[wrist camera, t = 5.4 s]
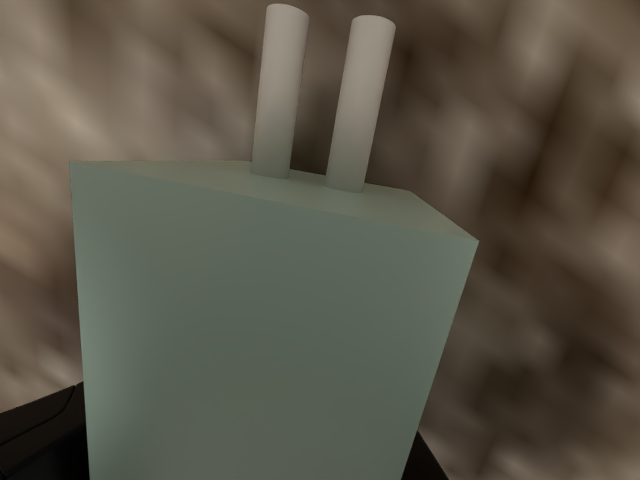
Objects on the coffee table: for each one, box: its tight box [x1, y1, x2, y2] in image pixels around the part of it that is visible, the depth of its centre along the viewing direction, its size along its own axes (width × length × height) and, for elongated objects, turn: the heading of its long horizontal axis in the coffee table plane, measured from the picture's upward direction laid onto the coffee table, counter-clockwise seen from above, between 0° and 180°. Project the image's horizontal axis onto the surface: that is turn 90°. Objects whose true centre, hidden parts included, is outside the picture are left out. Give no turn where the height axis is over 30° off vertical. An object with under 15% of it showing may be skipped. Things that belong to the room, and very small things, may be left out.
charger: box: [69, 4, 479, 480], centre depth 6 cm, size 10×4×5 cm, turn 171°
